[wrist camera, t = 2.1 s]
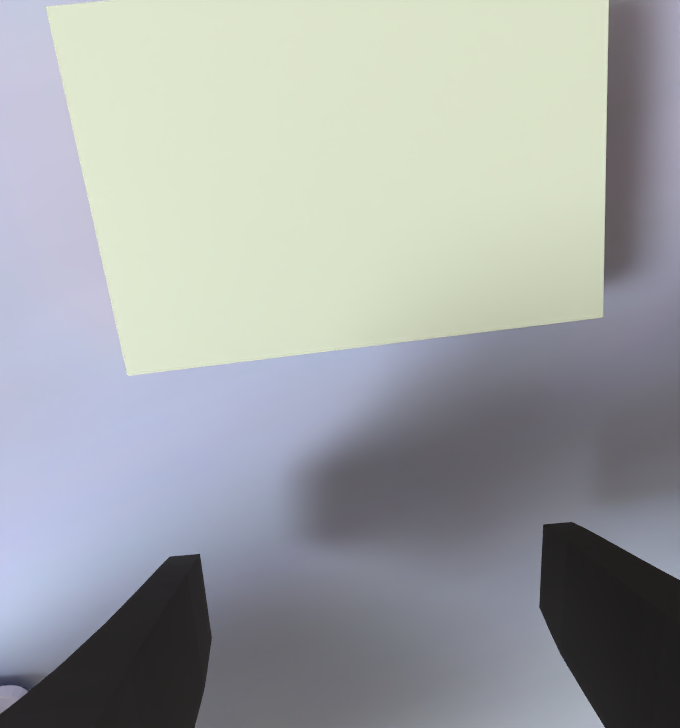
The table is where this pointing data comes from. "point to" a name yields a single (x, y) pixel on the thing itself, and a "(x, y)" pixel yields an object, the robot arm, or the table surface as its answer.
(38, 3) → the table surface
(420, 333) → the green tile
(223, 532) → the table surface
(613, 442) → the table surface
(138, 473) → the table surface
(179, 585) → the robot arm
